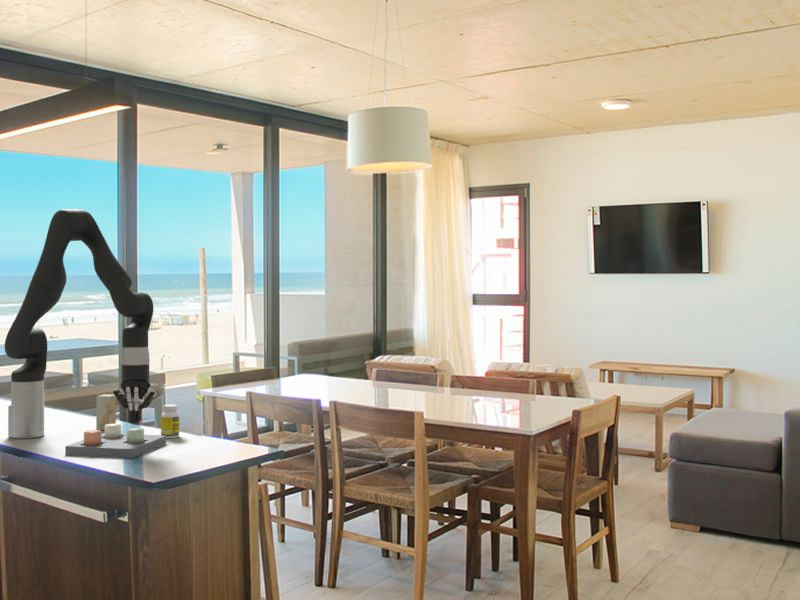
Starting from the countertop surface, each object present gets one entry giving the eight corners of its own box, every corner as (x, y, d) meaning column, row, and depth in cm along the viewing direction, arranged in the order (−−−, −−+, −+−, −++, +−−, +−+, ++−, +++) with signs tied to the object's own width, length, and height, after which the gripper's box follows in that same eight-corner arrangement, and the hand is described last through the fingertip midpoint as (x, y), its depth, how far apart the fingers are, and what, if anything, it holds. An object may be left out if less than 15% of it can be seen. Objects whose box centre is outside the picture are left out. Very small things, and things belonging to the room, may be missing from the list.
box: (108, 430, 258) (108, 396, 258) (95, 430, 259) (95, 396, 259) (116, 428, 263) (116, 394, 263) (104, 427, 264) (104, 393, 264)
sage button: (123, 444, 227) (123, 430, 227) (131, 441, 232) (132, 427, 232) (139, 445, 227) (139, 431, 227) (146, 442, 231) (146, 428, 231)
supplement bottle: (174, 439, 246) (174, 407, 246) (157, 438, 247) (157, 406, 247) (182, 435, 251) (182, 404, 251) (166, 435, 252) (166, 403, 252)
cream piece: (101, 439, 235) (101, 426, 234) (109, 436, 239) (109, 423, 239) (116, 440, 234) (116, 426, 234) (124, 437, 238) (124, 423, 238)
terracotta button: (80, 447, 224) (80, 432, 224) (89, 443, 228) (89, 429, 228) (95, 447, 223) (95, 433, 223) (104, 444, 227) (104, 430, 227)
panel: (65, 454, 222) (65, 446, 222) (103, 440, 242) (103, 432, 242) (132, 458, 219) (132, 449, 219) (166, 443, 239) (166, 435, 238)
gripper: (107, 363, 226) (107, 425, 226) (150, 364, 224) (151, 426, 224) (120, 361, 234) (120, 420, 234) (163, 361, 231) (163, 421, 232)
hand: (135, 423), depth 229 cm, fingers closed
